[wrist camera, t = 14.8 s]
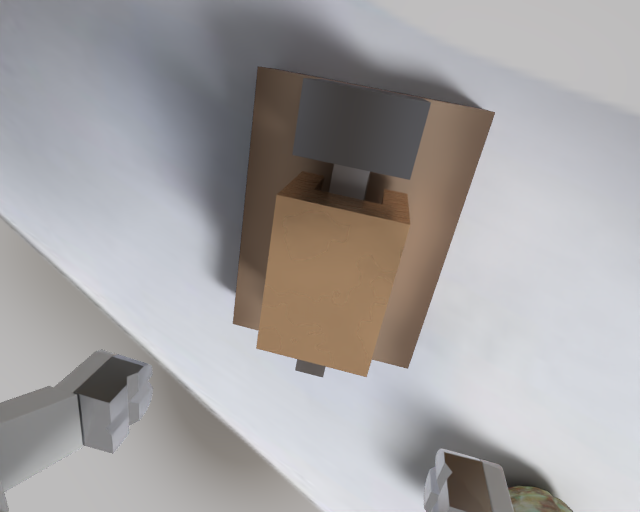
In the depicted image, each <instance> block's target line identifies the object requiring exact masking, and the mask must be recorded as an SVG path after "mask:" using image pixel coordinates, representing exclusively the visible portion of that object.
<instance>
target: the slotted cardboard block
mask: <svg viewBox="0 0 640 512" xmlns="http://www.w3.org/2000/svg"><path fill="white" fill-rule="evenodd" d="M323 182H324V176H323V175H318V174H314V173H309V172H305V171H302V172H301V173H300V174H299V175H298V176H297V177H295V178H294V179H293V180H292V181H291V182H290V183H289V184H288V185H287V186H286V187H285V188H283V189H282V190H281V191H280V192H279V193H278V194H277V195H276V203H275V210H274V218H273V226H272V233H271V241H270V249H269V256H268V264H267V271H266V279H265V287H264V294H263V302H262V309H261V317H260V325H259V332H258V340H257V347H256V348H257V349H261V350H265V351H268V352H272V353H276V354H280V355H284V356H288V357H291V358H295V359H299V360H303V361H307V362H311V363H314V364H318V365H322V366H326V367H330V368H334V369H338V370H341V371H345V372H349V373H353V374H357V375H361V376H364V377H367V374H368V370H369V367H370V363H371V360H372V356H373V353H374V349H375V346H376V342H377V339H378V335H379V332H380V329H381V325H382V322H383V318H384V315H385V311H386V308H387V304H388V301H389V297H390V294H391V290H392V287H393V283H394V280H395V276H396V273H397V269H398V266H399V263H400V259H401V256H402V252H403V249H404V245H405V242H406V238H407V235H408V231H409V228H410V215H409V205H408V194H406V193H402V192H397V191H392V190H388V189H384V193H383V197H382V201H381V204H378V203H373V202H368V201H364V200H359V199H355V198H350V197H346V196H341V195H337V194H332V193H328V192H323V191H322V187H323Z"/></svg>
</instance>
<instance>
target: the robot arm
mask: <svg viewBox="0 0 640 512" xmlns="http://www.w3.org/2000/svg"><path fill="white" fill-rule="evenodd" d="M151 376H152V366H151V365H149V364H147V363H144V362H141V361H137V360H134V359H131V358H128V357H125V356H122V355H119V354H115V353H111V352H108V351H105V350H99V351H96V352H94V353H93V354H92V355H91V356H90V357H89V358H87V359H86V360H85V361H84V362H83V363H82V364H80V365H79V366H78V367H77V368H76V369H75V370H74V371H72V372H71V373H70V374H69V375H68V376H67V377H65V378H64V379H63V380H62V381H61V382H60V383H58V384H57V385H56V386H55V387H51V386H47V387H45V388H42V389H39V390H36V391H33V392H31V393H27V394H25V395H22V396H19V397H16V398H13V399H10V400H7V401H4V402H2V403H0V512H8V511H9V508H8V505H7V501H6V497H5V493H4V492H6V491H7V490H9V489H11V488H13V487H14V486H16V485H18V484H20V483H21V482H23V481H25V480H27V479H28V478H30V477H32V476H33V475H35V474H37V473H39V472H40V471H42V470H44V469H46V468H47V467H49V466H51V465H53V464H55V463H56V462H58V461H60V460H62V459H63V458H65V457H67V456H68V455H70V454H72V453H73V452H75V451H77V450H79V449H80V448H82V447H83V445H84V446H88V447H92V448H95V449H99V450H103V451H106V452H109V453H114V452H115V451H116V449H117V448H118V447H119V446H120V444H121V443H122V442H123V441H124V439H125V438H126V437H127V436H128V434H129V425H131V424H133V423H135V422H137V421H139V420H140V419H141V418H142V416H143V415H144V414H145V412H146V411H147V408H148V406H149V404H150V402H151V398H152V394H153V393H152V389H153V387H152V386H151V384H150V383H149V381H148V380H149V379H150V377H151ZM435 465H436V466H435V467H433V468H431V469H430V470H429V473H428V475H427V478H426V483H425V488H424V508H425V510H426V512H514V510H513V506H512V502H511V499H510V495H509V491H508V487H507V483H506V479H505V475H504V472H503V468H502V467H501V466H500V464H496V463H493V462H489V461H485V460H482V459H478V458H475V457H471V456H468V455H464V454H461V453H457V452H453V451H450V450H446V449H443V448H440V449H439V450H438V452H437V454H436V456H435Z"/></svg>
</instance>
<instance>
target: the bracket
mask: <svg viewBox="0 0 640 512" xmlns="http://www.w3.org/2000/svg"><path fill="white" fill-rule="evenodd" d="M494 114H495V112H492V111H488V110H485V109H480V108H475V107H470V106H465V105H460V104H454V103H449V102H444V101H439V100H434V99H429V98H423V97H418V96H413V95H408V94H403V93H398V92H392V91H387V90H382V89H377V88H372V87H367V86H362V85H356V84H351V83H346V82H341V81H336V80H331V79H325V78H320V77H315V76H310V75H305V74H300V73H294V72H289V71H284V70H279V69H273V68H266V67H258V70H257V81H256V91H255V101H254V111H253V122H252V132H251V142H250V153H249V163H248V173H247V184H246V194H245V204H244V215H243V225H242V235H241V246H240V256H239V266H238V276H237V287H236V297H235V307H234V318H233V324H236V325H239V326H243V327H247V328H251V329H255V330H259V325H260V317H261V309H262V302H263V294H264V287H265V279H266V271H267V264H268V256H269V249H270V241H271V233H272V226H273V218H274V210H275V203H276V195H277V194H278V193H279V192H280V191H281V190H282V189H283V188H285V187H286V186H287V185H288V184H289V183H290V182H291V181H292V180H293V179H294V178H295V177H297V176H298V175H299V174H300V173H301V172H302V171H305V172H309V173H314V174H318V175H323V176H324V182H323V187H322V191H323V192H328V193H332V194H337V195H341V196H346V197H350V198H355V199H359V200H364V201H368V202H373V203H378V204H381V201H382V197H383V193H384V189H388V190H392V191H397V192H402V193H406V194H408V205H409V215H410V228H409V231H408V235H407V238H406V242H405V245H404V249H403V252H402V256H401V259H400V263H399V266H398V269H397V273H396V276H395V280H394V283H393V287H392V290H391V294H390V297H389V301H388V304H387V308H386V311H385V315H384V318H383V322H382V325H381V329H380V332H379V335H378V339H377V342H376V346H375V349H374V353H373V356H372V360H376V361H380V362H384V363H388V364H392V365H396V366H400V367H404V368H407V369H408V367H409V364H410V361H411V358H412V355H413V352H414V349H415V346H416V343H417V340H418V337H419V334H420V332H421V329H422V326H423V323H424V320H425V317H426V314H427V311H428V308H429V305H430V302H431V299H432V296H433V293H434V290H435V287H436V285H437V282H438V279H439V276H440V273H441V270H442V267H443V264H444V261H445V258H446V255H447V252H448V249H449V246H450V243H451V241H452V238H453V235H454V232H455V229H456V226H457V223H458V220H459V217H460V214H461V211H462V208H463V205H464V202H465V199H466V196H467V194H468V191H469V188H470V185H471V182H472V179H473V176H474V173H475V170H476V167H477V164H478V161H479V158H480V155H481V152H482V150H483V147H484V144H485V141H486V138H487V135H488V132H489V129H490V126H491V123H492V120H493V117H494ZM325 367H326V366H322V365H318V364H314V363H311V362H307V361H303V360H299V359H297V364H296V369H295V370H296V371H300V372H304V373H308V374H312V375H315V376H319V377H323V374H324V370H325Z"/></svg>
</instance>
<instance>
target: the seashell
mask: <svg viewBox="0 0 640 512" xmlns="http://www.w3.org/2000/svg"><path fill="white" fill-rule="evenodd" d="M508 491H509V495H510V499H511V502H512V506H513V510H514V512H573V511H572V510H571V509H570V508H569V507H568V506H567V505H566V504H565V503H564V502H563V501H561V500H560V499H557V498H554V497H553V496H552V495H551V494H550V493H549V492H548V491H545V490H542V489H539V488H537V487H528V486H525V487H524V486H515V487H510V488H508Z"/></svg>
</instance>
